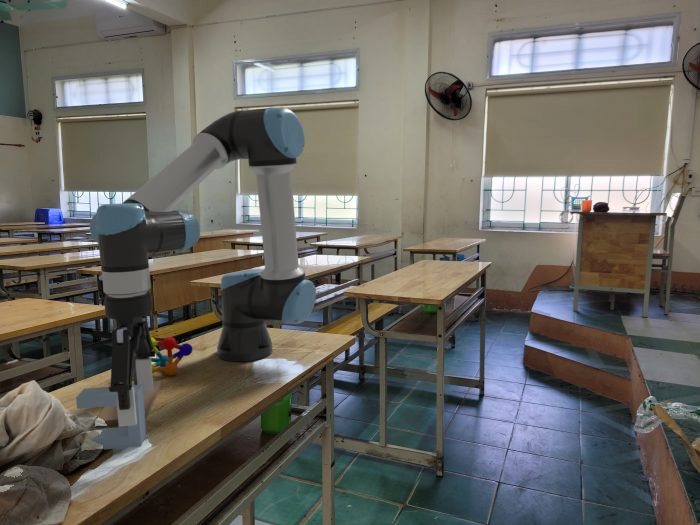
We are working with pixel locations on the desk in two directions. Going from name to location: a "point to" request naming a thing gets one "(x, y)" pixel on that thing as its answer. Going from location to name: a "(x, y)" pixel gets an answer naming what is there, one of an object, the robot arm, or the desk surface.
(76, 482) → the desk surface
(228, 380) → the desk surface
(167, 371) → the molecular model
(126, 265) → the robot arm
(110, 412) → the stand
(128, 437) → the c link
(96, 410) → the desk surface
